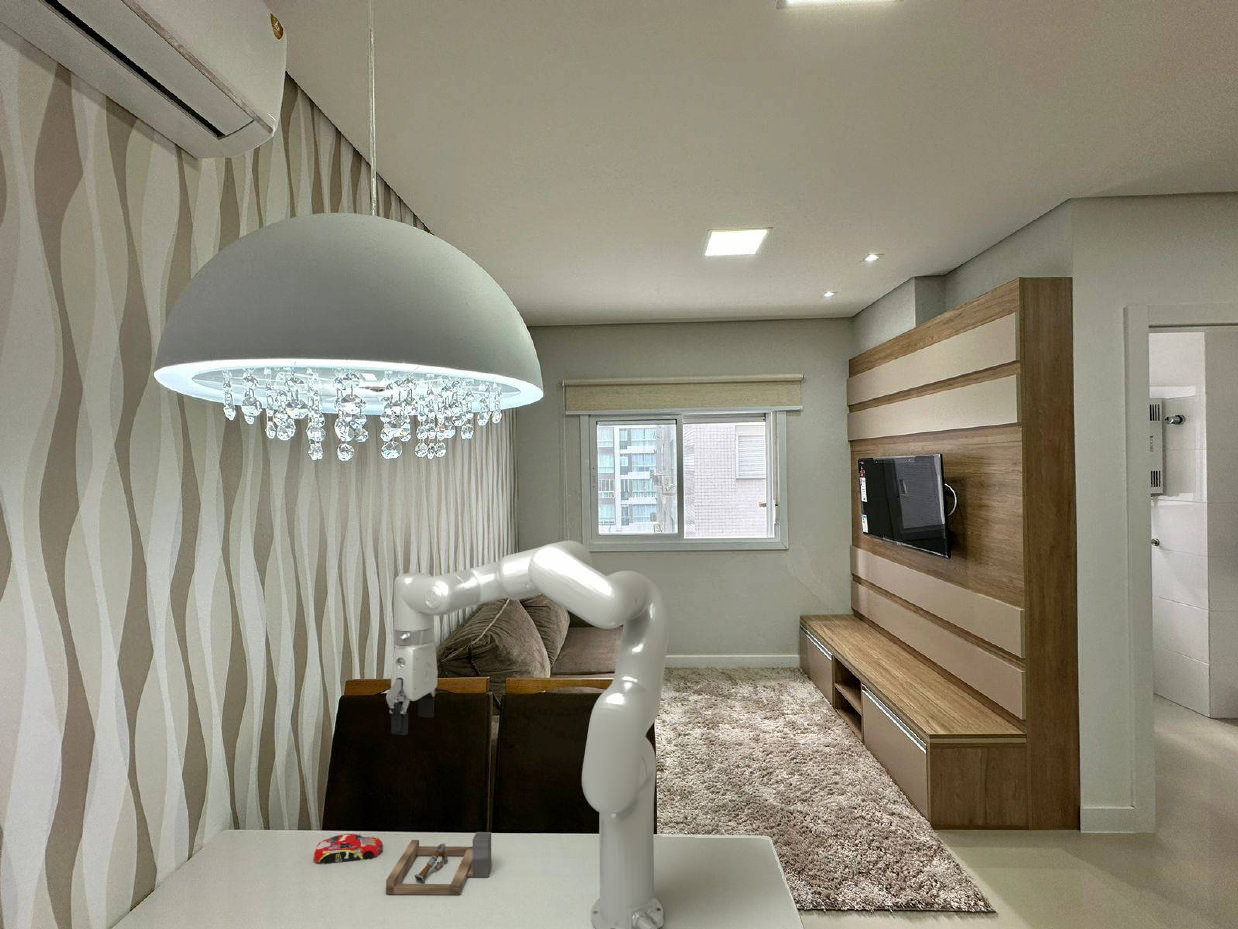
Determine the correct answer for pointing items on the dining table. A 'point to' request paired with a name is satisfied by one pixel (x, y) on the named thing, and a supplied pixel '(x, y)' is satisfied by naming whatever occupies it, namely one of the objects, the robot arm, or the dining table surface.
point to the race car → (347, 848)
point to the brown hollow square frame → (470, 866)
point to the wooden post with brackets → (431, 862)
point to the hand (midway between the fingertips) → (413, 725)
